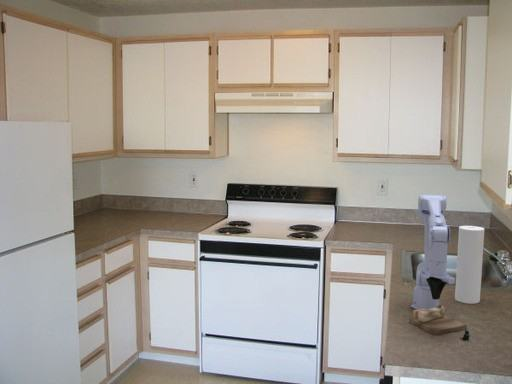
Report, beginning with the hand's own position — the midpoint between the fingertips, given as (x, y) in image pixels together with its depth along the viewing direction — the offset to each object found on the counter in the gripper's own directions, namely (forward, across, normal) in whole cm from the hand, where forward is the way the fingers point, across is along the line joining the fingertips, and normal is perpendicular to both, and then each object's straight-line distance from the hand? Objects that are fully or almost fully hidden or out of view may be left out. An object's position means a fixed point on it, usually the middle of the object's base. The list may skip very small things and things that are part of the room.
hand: (435, 298), depth 190 cm
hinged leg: (+9, -4, +2) cm, 10 cm away
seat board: (+10, -1, +2) cm, 11 cm away
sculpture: (+11, +12, +2) cm, 17 cm away
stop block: (+9, -7, -1) cm, 11 cm away
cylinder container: (+11, -18, +34) cm, 40 cm away
